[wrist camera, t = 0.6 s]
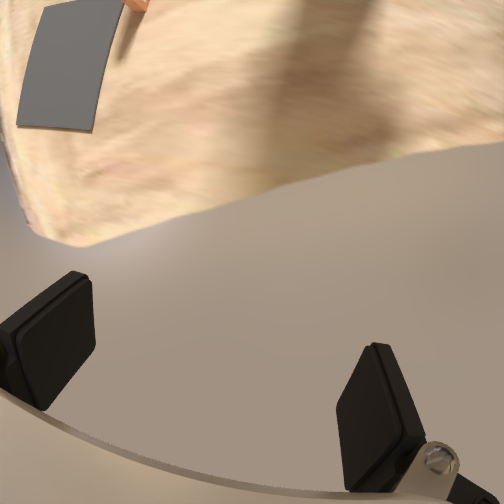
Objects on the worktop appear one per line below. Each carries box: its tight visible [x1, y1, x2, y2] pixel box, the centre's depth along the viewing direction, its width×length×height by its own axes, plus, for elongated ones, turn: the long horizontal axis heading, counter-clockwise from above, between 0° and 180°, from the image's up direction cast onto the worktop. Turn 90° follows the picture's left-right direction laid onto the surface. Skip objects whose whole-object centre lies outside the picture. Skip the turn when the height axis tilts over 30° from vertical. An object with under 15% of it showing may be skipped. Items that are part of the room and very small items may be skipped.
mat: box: [16, 0, 124, 130], centre depth 32 cm, size 20×16×1 cm
